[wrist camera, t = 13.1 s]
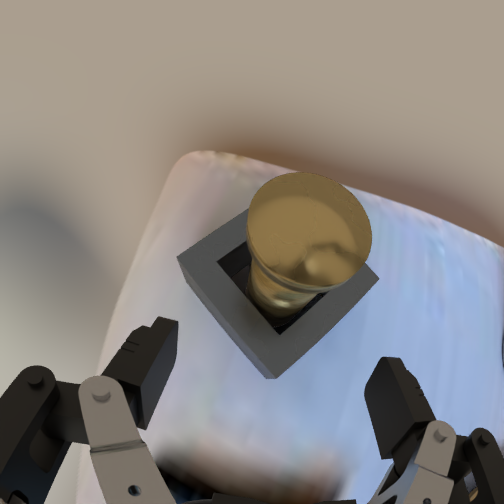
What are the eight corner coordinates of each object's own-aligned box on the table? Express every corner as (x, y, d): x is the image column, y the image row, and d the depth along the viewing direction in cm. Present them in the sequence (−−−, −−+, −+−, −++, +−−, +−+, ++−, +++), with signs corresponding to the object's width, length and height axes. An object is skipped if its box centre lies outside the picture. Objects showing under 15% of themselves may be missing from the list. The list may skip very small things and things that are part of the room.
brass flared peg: (274, 256, 22) (310, 156, 12) (318, 304, 21) (392, 234, 11) (223, 295, 21) (220, 211, 11) (268, 348, 19) (313, 314, 9)
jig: (277, 217, 24) (286, 184, 20) (353, 298, 21) (379, 278, 17) (186, 281, 21) (176, 256, 17) (265, 378, 18) (276, 378, 14)
